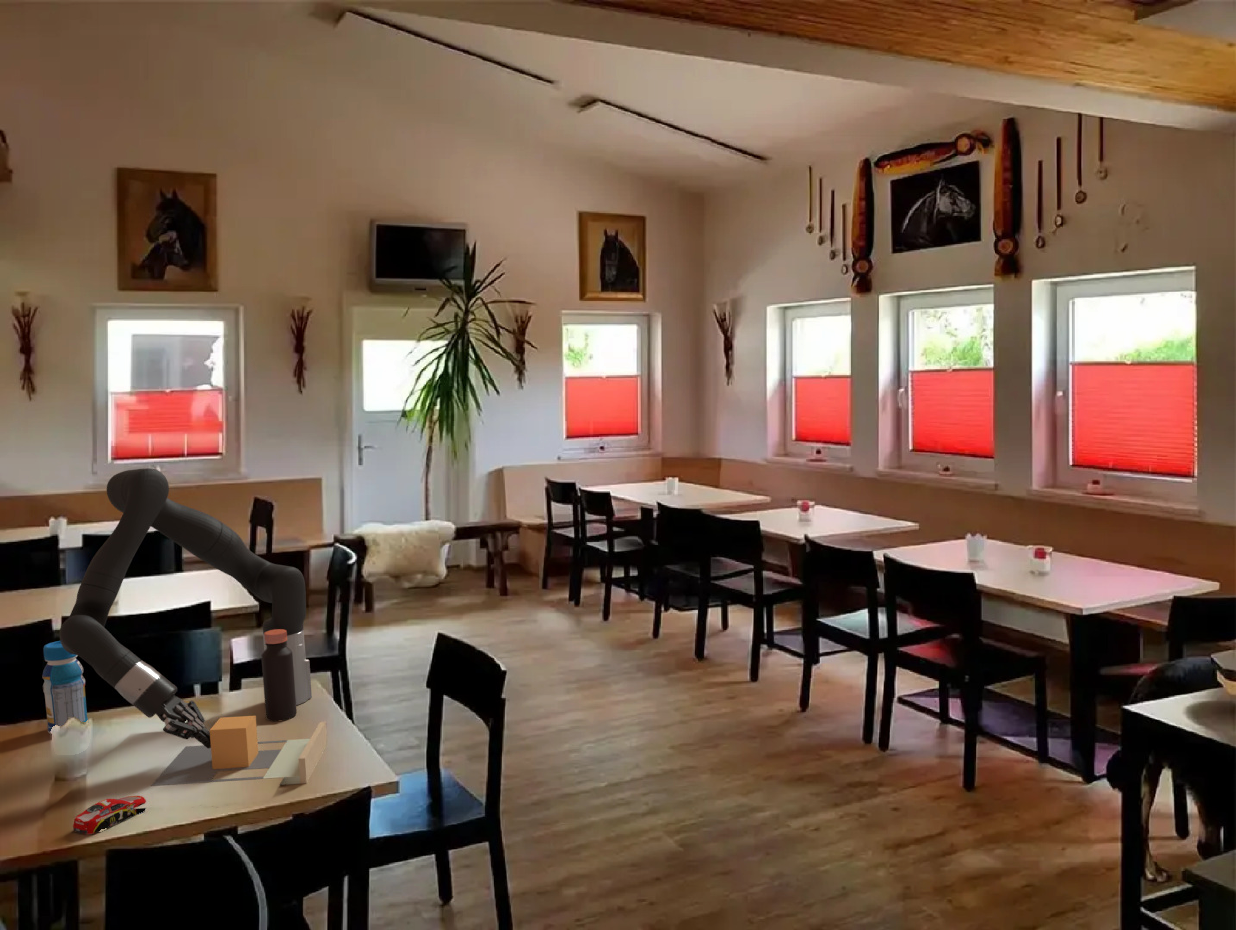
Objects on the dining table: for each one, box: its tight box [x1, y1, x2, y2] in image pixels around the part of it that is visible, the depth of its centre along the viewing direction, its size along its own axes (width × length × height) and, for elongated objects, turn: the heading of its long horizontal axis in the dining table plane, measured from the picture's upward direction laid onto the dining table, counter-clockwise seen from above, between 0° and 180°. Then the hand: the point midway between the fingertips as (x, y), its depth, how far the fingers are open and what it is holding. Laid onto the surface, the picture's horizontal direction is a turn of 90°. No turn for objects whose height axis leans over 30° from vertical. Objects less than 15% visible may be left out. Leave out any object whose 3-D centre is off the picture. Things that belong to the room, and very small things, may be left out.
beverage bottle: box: [41, 640, 89, 734], centre depth 231 cm, size 8×8×20 cm
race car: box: [72, 795, 147, 835], centre depth 184 cm, size 13×5×4 cm, turn 151°
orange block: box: [209, 715, 259, 769], centre depth 206 cm, size 7×7×8 cm
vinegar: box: [261, 629, 298, 722], centre depth 235 cm, size 7×7×20 cm
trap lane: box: [150, 721, 328, 787], centre depth 206 cm, size 29×20×5 cm
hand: (213, 744), depth 205 cm, fingers closed
